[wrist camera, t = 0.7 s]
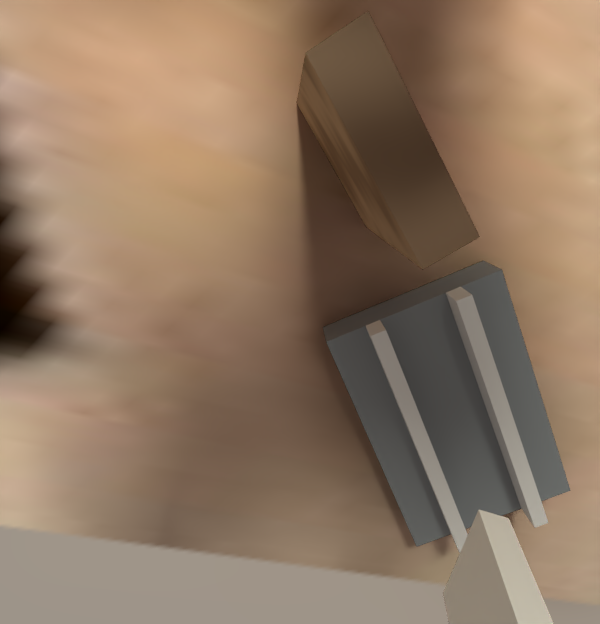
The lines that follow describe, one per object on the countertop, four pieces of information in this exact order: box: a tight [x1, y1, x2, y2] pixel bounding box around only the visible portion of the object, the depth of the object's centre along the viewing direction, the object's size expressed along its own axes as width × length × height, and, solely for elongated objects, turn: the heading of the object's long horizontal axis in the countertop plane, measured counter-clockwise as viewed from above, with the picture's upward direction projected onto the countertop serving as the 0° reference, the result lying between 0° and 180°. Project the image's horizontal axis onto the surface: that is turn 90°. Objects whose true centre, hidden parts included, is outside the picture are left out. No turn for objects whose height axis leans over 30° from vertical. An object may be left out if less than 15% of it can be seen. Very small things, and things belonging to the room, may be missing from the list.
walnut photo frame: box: [297, 11, 480, 270], centre depth 25 cm, size 9×3×14 cm, turn 31°
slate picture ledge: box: [323, 261, 570, 553], centre depth 34 cm, size 18×12×5 cm, turn 23°
